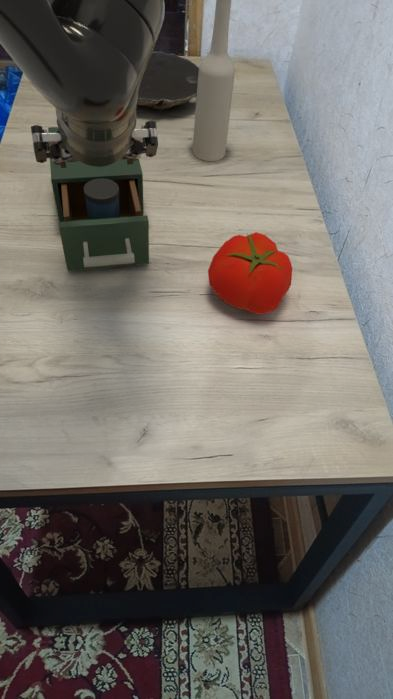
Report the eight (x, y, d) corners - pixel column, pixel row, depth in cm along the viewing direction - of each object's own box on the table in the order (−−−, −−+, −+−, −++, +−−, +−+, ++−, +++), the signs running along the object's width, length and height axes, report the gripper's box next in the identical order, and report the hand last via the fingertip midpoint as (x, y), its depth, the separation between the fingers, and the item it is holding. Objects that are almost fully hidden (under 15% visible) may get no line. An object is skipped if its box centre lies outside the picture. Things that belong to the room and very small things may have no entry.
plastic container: (91, 249, 76) (84, 199, 69) (89, 228, 79) (82, 178, 72) (123, 246, 77) (120, 197, 70) (120, 226, 80) (117, 177, 72)
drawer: (153, 285, 74) (153, 242, 67) (69, 293, 71) (60, 250, 65) (137, 209, 84) (135, 166, 78) (63, 215, 82) (55, 170, 75)
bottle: (192, 160, 96) (204, -9, 74) (192, 142, 100) (203, -24, 78) (226, 162, 96) (248, -6, 74) (224, 143, 100) (244, -21, 78)
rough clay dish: (222, 94, 113) (225, 71, 109) (169, 133, 101) (169, 108, 97) (144, 65, 119) (144, 42, 115) (85, 99, 107) (83, 75, 103)
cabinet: (143, 226, 83) (142, 173, 75) (61, 233, 81) (51, 179, 72) (132, 176, 91) (130, 123, 83) (57, 180, 89) (48, 127, 81)
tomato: (195, 271, 77) (199, 228, 71) (269, 260, 80) (279, 218, 73) (219, 332, 70) (227, 291, 63) (299, 318, 73) (314, 277, 66)
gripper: (163, 75, 49) (147, 125, 65) (15, 78, 46) (35, 130, 62) (171, 153, 50) (153, 184, 66) (26, 160, 48) (43, 191, 63)
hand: (96, 158), depth 64 cm, fingers open, 8 cm apart
